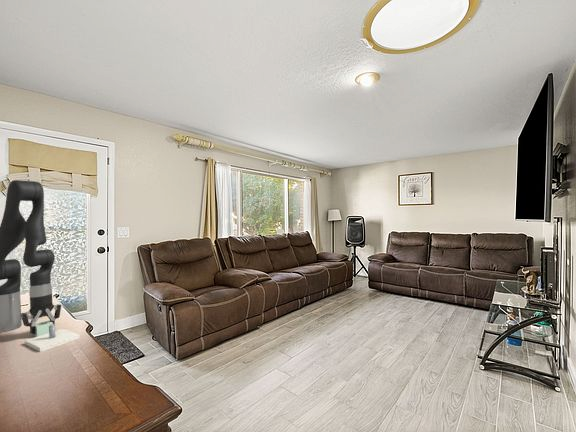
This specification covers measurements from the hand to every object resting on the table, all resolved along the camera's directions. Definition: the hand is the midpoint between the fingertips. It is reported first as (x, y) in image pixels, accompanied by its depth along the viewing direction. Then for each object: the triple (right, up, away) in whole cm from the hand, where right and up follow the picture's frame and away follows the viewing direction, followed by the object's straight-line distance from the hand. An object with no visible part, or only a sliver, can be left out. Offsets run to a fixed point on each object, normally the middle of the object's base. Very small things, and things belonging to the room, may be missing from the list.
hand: (42, 331), depth 125 cm
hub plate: (+12, 0, -9) cm, 15 cm away
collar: (0, -1, 0) cm, 1 cm away
